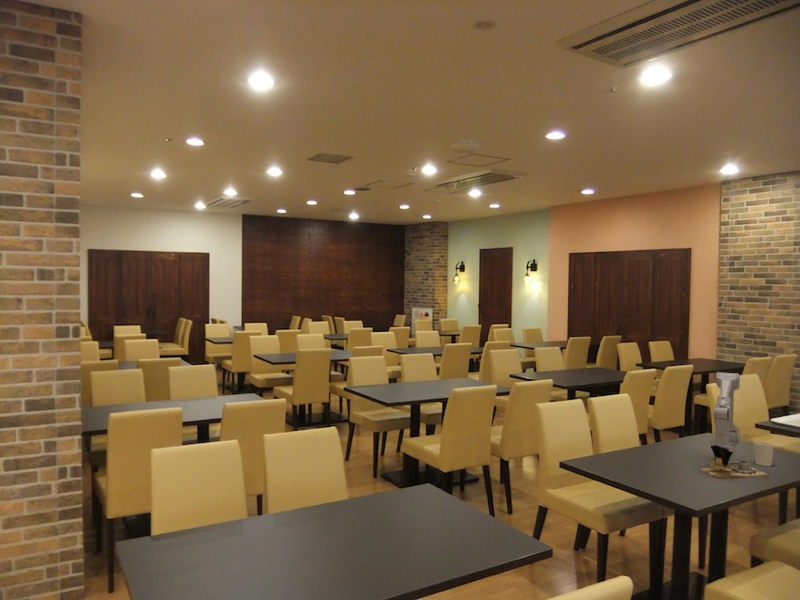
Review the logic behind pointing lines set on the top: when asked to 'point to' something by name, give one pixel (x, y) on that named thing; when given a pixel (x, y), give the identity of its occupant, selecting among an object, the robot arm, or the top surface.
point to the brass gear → (720, 464)
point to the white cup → (763, 453)
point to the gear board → (735, 471)
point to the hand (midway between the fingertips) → (721, 463)
